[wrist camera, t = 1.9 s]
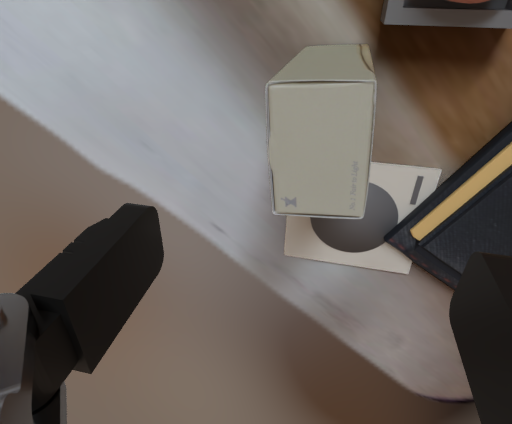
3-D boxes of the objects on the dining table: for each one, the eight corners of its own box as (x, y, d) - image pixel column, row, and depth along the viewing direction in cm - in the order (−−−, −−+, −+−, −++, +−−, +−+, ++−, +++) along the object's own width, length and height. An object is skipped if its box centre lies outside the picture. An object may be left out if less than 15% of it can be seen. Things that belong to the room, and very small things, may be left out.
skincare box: (361, 134, 26) (367, 225, 16) (300, 133, 27) (270, 219, 17) (369, 39, 23) (384, 78, 13) (300, 42, 24) (262, 82, 14)
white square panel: (440, 168, 26) (442, 171, 26) (407, 271, 31) (408, 274, 31) (291, 153, 28) (290, 155, 28) (284, 253, 33) (283, 255, 33)
